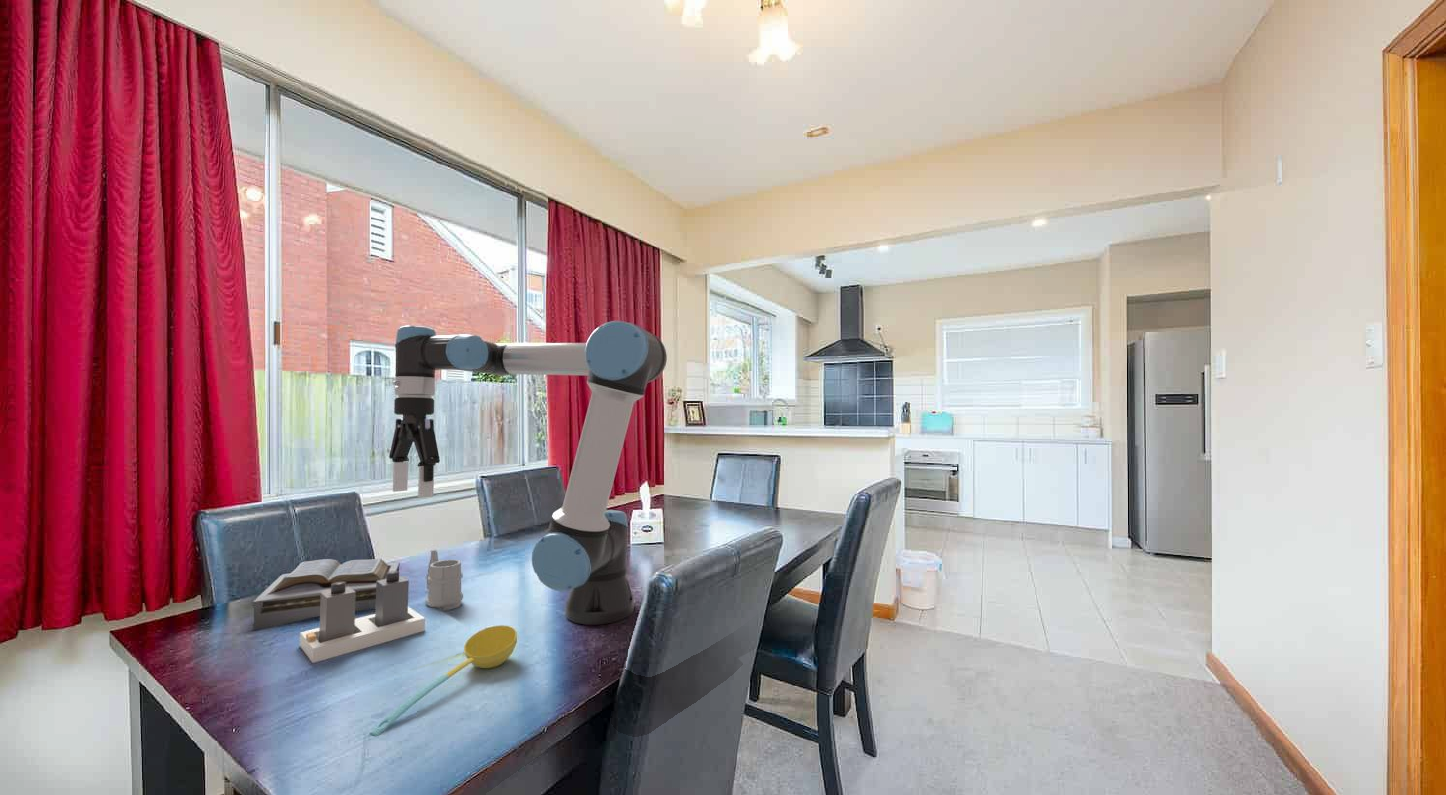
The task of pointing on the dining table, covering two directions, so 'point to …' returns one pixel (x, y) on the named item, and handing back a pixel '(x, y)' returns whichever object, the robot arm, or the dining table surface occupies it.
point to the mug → (444, 583)
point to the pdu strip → (360, 636)
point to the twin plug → (337, 612)
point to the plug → (391, 599)
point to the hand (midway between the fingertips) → (412, 494)
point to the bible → (317, 589)
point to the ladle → (467, 663)
